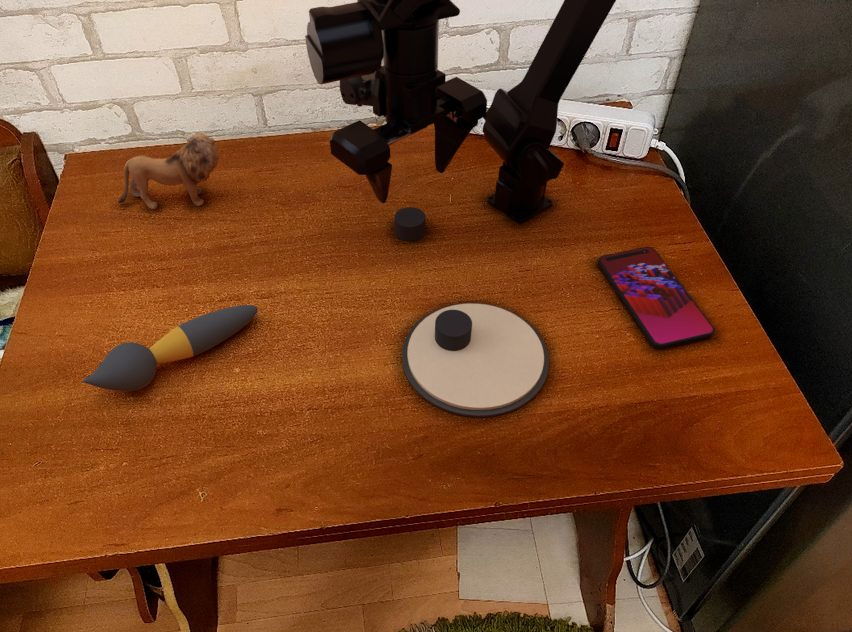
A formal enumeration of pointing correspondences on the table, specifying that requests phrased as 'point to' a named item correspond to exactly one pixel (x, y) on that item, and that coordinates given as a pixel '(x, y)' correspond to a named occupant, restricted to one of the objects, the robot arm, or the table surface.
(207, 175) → the lion figurine
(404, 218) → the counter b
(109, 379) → the paintbrush
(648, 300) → the smartphone
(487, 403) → the face circle
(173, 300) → the table surface
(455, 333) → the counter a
